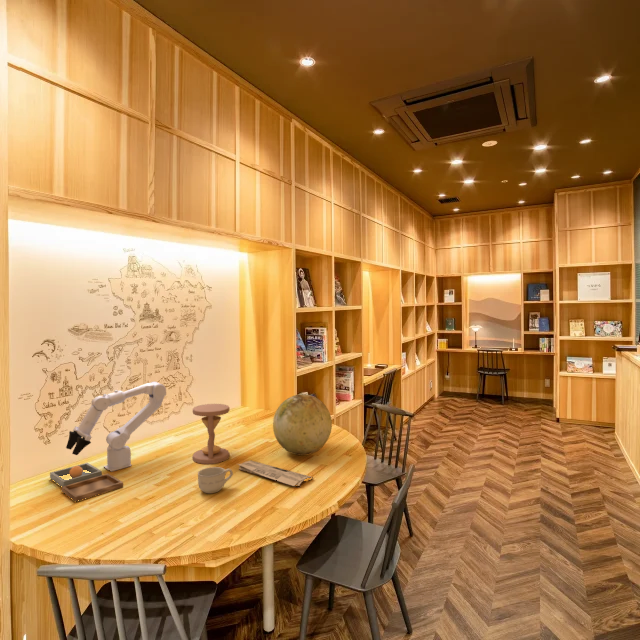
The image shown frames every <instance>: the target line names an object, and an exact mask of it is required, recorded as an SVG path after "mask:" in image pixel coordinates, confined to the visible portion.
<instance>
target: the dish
mask: <svg viewBox="0 0 640 640" xmlns="http://www.w3.org/2000/svg"><path fill="white" fill-rule="evenodd" d="M74 466H75V465H74ZM74 466H70V467H66V468H62V469H59V470H55V471H51V472H49V479H50V478H51V479H52V480H54V481H55V482H56V483H58V484H59V485H60V486H62V487H63V486H67V485H70V484H73V483H77V482H80V481H84V480H87V479H91V478H94V477H97V476H101V475H103V473H102V470H101V469H99V468H97V467H96V466H94V465H92V464H90V463H88V462H85V463H81V464H78V465H77V464H76V466H80V467H81V468H82V469H83V470H87V471H89V472H91V473H85V472H83V473H82V475H81V476H79V477H76V478H72V479H69V480H64V479H62V478H61V477H59V476H63V475H67V474H69V472H70V470H71V468H72V467H74ZM52 480H51V481H52ZM56 483H55V484H56ZM60 486H59V487H60Z"/></svg>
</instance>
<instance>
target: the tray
mask: <svg viewBox="0 0 640 640" xmlns="http://www.w3.org/2000/svg"><path fill="white" fill-rule="evenodd" d="M121 487H122V488H124V482H123V481H122V480H120V479H119V478H117V477H115V476H113V475H111V474H110V473H104V474H102V475H101V476H97V477H94V478H91V479H87V480H84V481H80V482H77V483H73V484H70V485H67V486H63V487H62V488H61V493H62V492H63V493H65V494H66V495H67V496H69V497H70V498H72V499H73V500H74V501H78V500H82V499H85V498H88V499H90V498H89V497H91V498H93V497H92V496H94V497H96V496H95V495H97V496H99V495H98V494H100V495H102V493H104V494H106V493H105V492H107V493H109V492H108V491H110V492H112V491H111V490H113V491H115V489H116V490H118V488H119V489H122V488H121ZM63 493H62V494H63ZM65 494H64V495H65ZM66 495H65V496H66ZM67 496H66V497H67ZM69 497H68V498H69ZM70 498H69V499H70ZM73 500H72V501H73ZM85 500H86V499H85ZM74 501H73V502H74ZM82 501H83V500H82Z"/></svg>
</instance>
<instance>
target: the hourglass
mask: <svg viewBox="0 0 640 640" xmlns="http://www.w3.org/2000/svg"><path fill="white" fill-rule="evenodd" d="M229 412H230V406H229V405H227V404H223V403H207V404H206V403H205V404H201V405H196V406H194V407H193V408H192V414H193V415H195V416H197V417H202V418H201V422H202V423H203V424H204V426H205V428H206V429H207V434H208V438H207V445H206V446H204V447H203V448H201V449H199V450H196V451H195V452H194V453H193V454H192V460H193V462H194V463H196V462H197V464H200V463H201V465H213V464H219V462H220V463H222V461H223V462H225V461H226V459H227V460H228V459H229V458H230V451H229V449H226V448H224V447H223V448H221V446H219V445H215V438H216V433H215V429H216V427H217V426H218V424H219V423H220V422H221V419H222V417H221V416H223V415H226V414H228V413H229Z"/></svg>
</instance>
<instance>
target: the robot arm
mask: <svg viewBox="0 0 640 640" xmlns="http://www.w3.org/2000/svg"><path fill="white" fill-rule="evenodd" d="M142 394H147V395H148V396H149V397H148V399H149V400H148V403H147V404H145V406H144V407H142V408H141V409H140V410H139V411H138V412H136V413H135V415H133V416H132V417H131V418H130V419H129V420H128V421H127V422H126V423H125V424H123V425H122V426H120V427H118V428H116V430H114V431H111V432H109V433H108V434H107V436H106V437H105V440H106V441H105V442H106V443H107V445H108V446H107V449H106V450H107V451H106V453H107V459H106V464H107V465H104V466H103V468H104V467H105V468H104V469H106V470H108V471H109V470H110V472H115V471H118V470H121V469H125V468H129V467H131V466H132V465H133V464H132V461H131V460H132V457H131V456H132V454H131V453H132V452H131V448H130V446H129V445H126V443H127V442H128V441H129V439H130V438H131V435H132V434H133V433H134V432H135V431H136V430H137V429H138V428H139V427H141V426H142V425H143V423H145V421H146V420H148V419H149V418H150V417H151V416H152V415H153V414H154V413H155V412H156V411H157V410H158V409H159V408H161V406H162V403H163V402H164V398H165V397H166V395H167V387H166V386H165V385H164V384H162V383H160V382H158V381H151V382H147V383H144V384H141V385H138V386H136V387H133V388H131V389H127V390H125V391H123V390H121V389H120V390H118V389H115V390H114V391H113V392H110V393H107V394H106V393H103V395H98V396H95V397H94V398H93V399H91V403H90V404H91V405H90V407H89V409H88V410H87V411H86V413H85V415H84V417H83V418H82V420H81V421H80V423H79V424H78V426H74V427H73V430H72V431H71V430H69V434H68V436H69V437H68V440H67V444H66V446H65V448H66V449H67V450H73V451H72V455H75V456H79V454H80V453H81V452H82V451H83V449H85V448H86V447H87V446H88V445H90V444H91V443H92V442H91V440H92V438H93V436H91V433H92V431H93V429H94V428H95V426H96V424H97V422H98V421H99V419H100V417H101V415H102V414H103V413H104V411H106V410H107V409H108V408H109V407H113V406H116V405H119V404H122V403H124V402H125V401H126V400H127V399H128V398H132V397H135V396H138V395H142ZM73 448H74V449H73Z"/></svg>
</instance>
